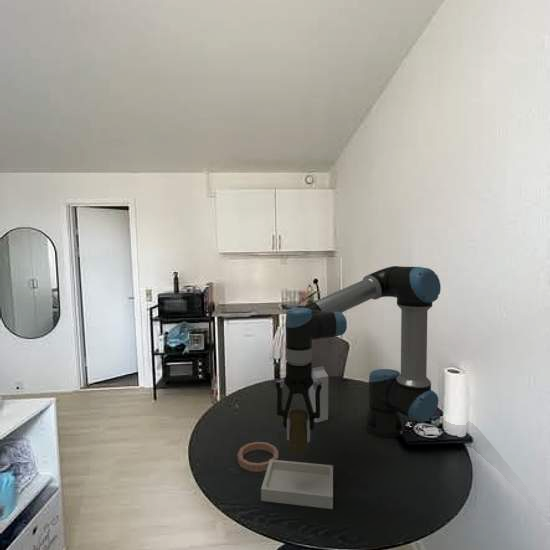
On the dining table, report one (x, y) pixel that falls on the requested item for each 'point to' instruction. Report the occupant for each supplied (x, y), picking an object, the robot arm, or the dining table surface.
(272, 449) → the ring
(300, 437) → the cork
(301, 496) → the tray
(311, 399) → the milk
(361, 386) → the dining table surface
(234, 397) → the dining table surface
